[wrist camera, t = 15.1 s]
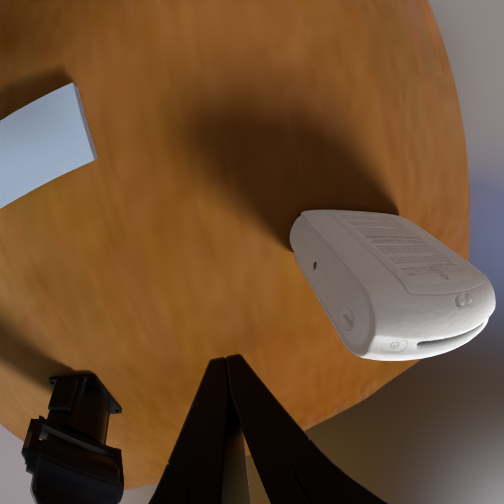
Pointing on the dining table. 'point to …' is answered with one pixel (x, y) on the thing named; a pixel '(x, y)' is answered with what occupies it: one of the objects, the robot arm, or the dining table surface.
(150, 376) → the dining table surface
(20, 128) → the blue domino
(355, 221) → the photo printer
